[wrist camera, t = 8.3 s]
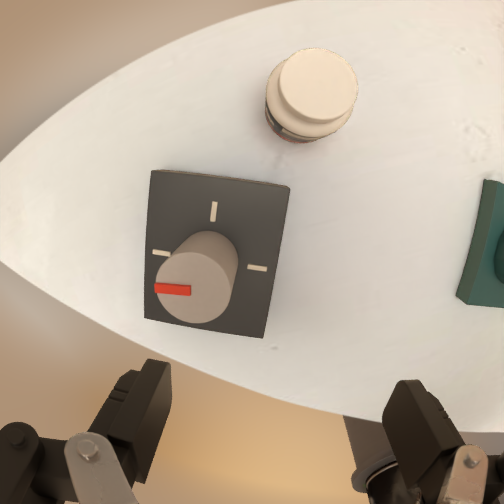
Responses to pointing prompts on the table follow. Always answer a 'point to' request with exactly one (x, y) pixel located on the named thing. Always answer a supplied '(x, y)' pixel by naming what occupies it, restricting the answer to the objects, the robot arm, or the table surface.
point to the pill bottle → (310, 95)
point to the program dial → (198, 277)
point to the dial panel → (226, 223)
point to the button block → (486, 252)
